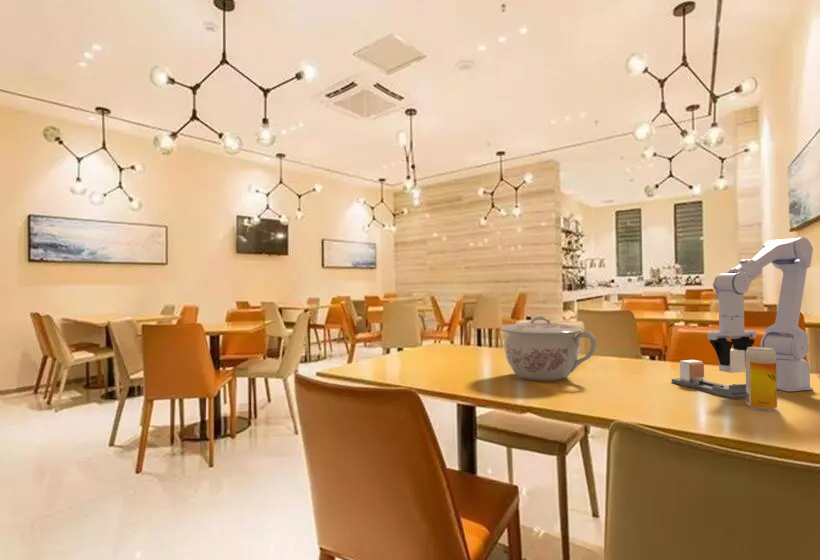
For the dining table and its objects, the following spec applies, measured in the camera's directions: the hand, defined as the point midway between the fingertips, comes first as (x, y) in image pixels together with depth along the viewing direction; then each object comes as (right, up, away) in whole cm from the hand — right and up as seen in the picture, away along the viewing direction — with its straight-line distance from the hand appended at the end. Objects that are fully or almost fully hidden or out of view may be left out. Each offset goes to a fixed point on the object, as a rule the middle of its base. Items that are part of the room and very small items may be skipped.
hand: (732, 364), depth 126 cm
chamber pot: (-45, -10, +27) cm, 54 cm away
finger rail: (-1, -9, +7) cm, 11 cm away
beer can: (-2, -9, -13) cm, 16 cm away
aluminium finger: (0, -2, 0) cm, 2 cm away
